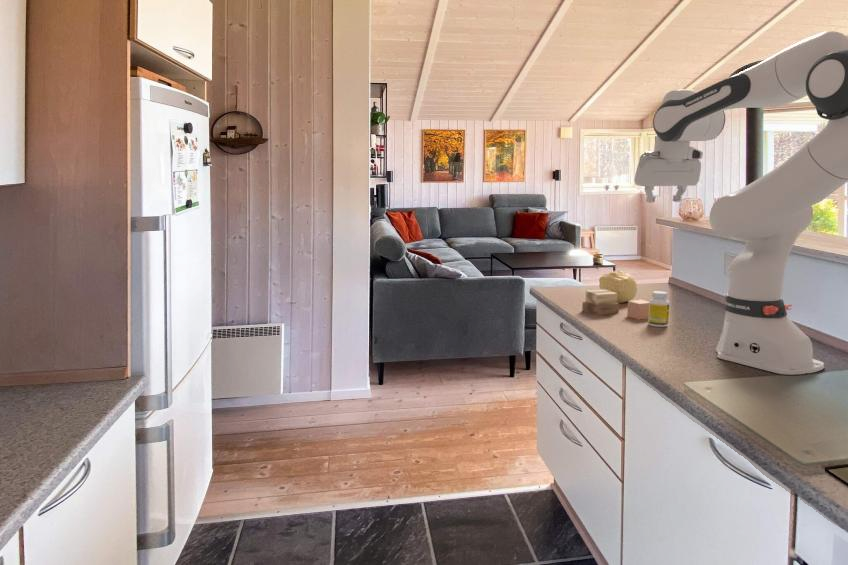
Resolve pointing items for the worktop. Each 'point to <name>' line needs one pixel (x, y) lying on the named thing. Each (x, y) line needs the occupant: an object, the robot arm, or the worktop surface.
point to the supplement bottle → (658, 309)
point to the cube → (638, 309)
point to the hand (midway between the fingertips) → (663, 202)
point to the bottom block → (600, 308)
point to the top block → (601, 297)
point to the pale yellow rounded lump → (619, 285)
